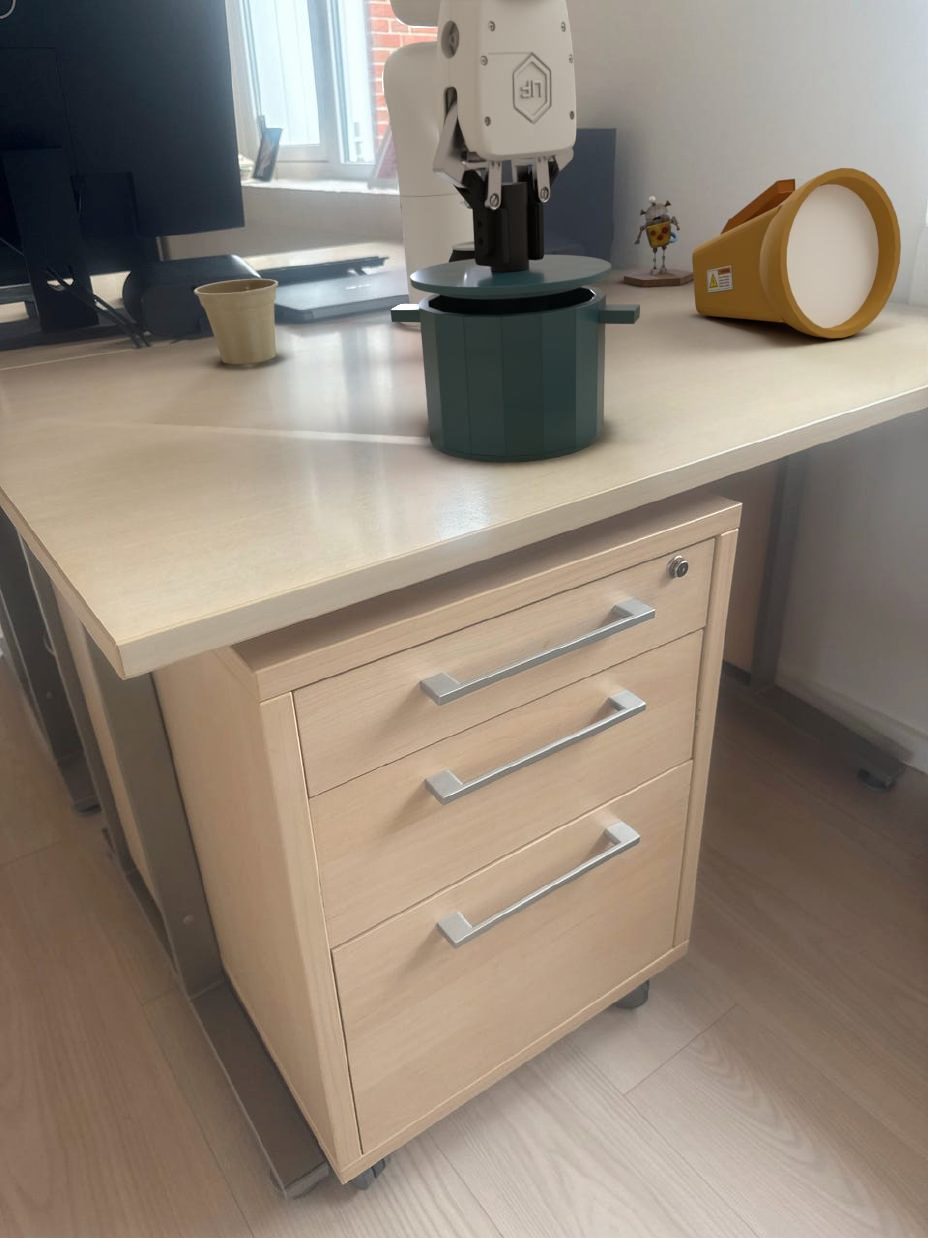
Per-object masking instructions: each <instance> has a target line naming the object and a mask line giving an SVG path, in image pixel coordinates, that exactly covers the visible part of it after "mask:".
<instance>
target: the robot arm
mask: <svg viewBox="0 0 928 1238" xmlns="http://www.w3.org/2000/svg"><path fill="white" fill-rule="evenodd" d="M389 3H390V6H391V9H392V13H393V15H394V16H395V18H396V19H397V21H398V22H400V23H401V24H403V25H404V26H408V27H410V28H411V27H412V28H425V29H426V28H437V33H436V34H437V35H436V40H434V41H433V40H431V41H420V42H419V41H418V42H414V43H409V44H406V45H403V46H400V47H398V48H397V49H395V50H394V51H392V52H391V53H390V54H389V55H388V57H387V58H386V60H385V62H384V65H383V68H382V75H381V78H382V79H381V80H382V81H381V82H382V91H383V98H384V103H385V107H386V111H387V116H388V120H389V125H390V130H391V135H392V140H393V146H394V154H395V160H396V161H395V163H396V170H397V179H398V193H399V203H400V214H401V223H402V224H401V225H402V237H403V248H404V259H405V271H406V272H405V273H406V283H407V293H408V304H419V301H421V300H423V299H425V298H427V297H429V296H431V295H433V294H436V293H429V292H424V291H420V290H418V289H415V288H413V287H412V285H411V281H410V277H411V275H412V274H413V273H414V272H416V271H418V270H421V269H424V268H427V267H430V266H435V265H439V264H444V263H449V259H450V257H451V254H452V251H453V249H452V245H454V244H457V243H462V242H469V241H474V251H475V262H476V264H477V265H479V266H489V267H499V268H500V267H505V266H507V264H508V262H509V252H508V220H507V212H506V209H502V208H499V206H500V202H501V183H502V175H503V174H502V170H503V162H504V161H510V163H511V166H510V167H511V175H512V176H511V177H512V182H527V187H528V233H529V260H541V259H543V258H544V255H545V227H544V226H545V223H544V221H545V218H544V216H545V215H544V210H545V209H544V204H545V203H547V202H549V199H550V198H551V187H552V185H553V184H554V182H555V180H556V179H557V177H558V176H559V175H558V174H559V173H560V172H561V171H562V170H563V169H565V167H566V166H567V165H568V164H570V162H571V161H572V160H573V159H574V153H575V152H574V148H573V147H574V145H575V144H576V138H577V93H576V92H577V91H576V73H575V61H574V60H575V58H574V49H573V39H572V30H571V25H570V24H571V22H570V17H569V12H568V6H567V1H566V0H389ZM529 167H531V169H530V171H529ZM482 171H484V175H483V176H484V177H483V178H482ZM399 323H400V324H403V325H404V326H405V325H406V326H411V327H418V328H421V324H420V322H399Z"/></svg>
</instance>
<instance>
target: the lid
mask: <svg viewBox="0 0 928 1238" xmlns="http://www.w3.org/2000/svg"><path fill="white" fill-rule="evenodd" d="M499 208H502V209H506V212H507V220H508V252H509V262H508V264H507V266H505V267H500V268H499V267H489V266H479V265H477V264H476V262H475V259H469V260H462V261H455V262H449V263H444V264H439V265H435V266H430V267H427V268H424V269H421V270H418V271H416V272H414V273H413V274H412V275H411V277H410V281H411V285H412V287H413V288H415V289H418V290H420V291H424V292H429V293H436V294H441V295H443V296H447V297H453V298H461V299H481V300H493V299H517V298H529V297H538V296H546V295H552V294H558V293H563V292H567V291H571V290H574V289H577V288H579V287H582V286H584V285H586V286H589V285H592V284H595V283H598V282H601V281H603V280H606V279H607V278H609V277H610V276H611V275H612V264H611V263H610V261H607V260H605V259H602V258H597V257H592V256H585V255H584V256H583V255H571V254H544V258H543V259H541V260H529V233H528V187H527V182H513V181H509V182H501V202H500V206H499Z"/></svg>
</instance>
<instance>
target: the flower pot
mask: <svg viewBox="0 0 928 1238" xmlns="http://www.w3.org/2000/svg"><path fill="white" fill-rule="evenodd" d="M278 286H279V281H278V280H275V279H271V278H244V279H243V278H242V279H232V280H224V281H218V282H213V283H208V284H204V285H201V286H198V287H196V288H195V289H194V290H193V293H194V295H196V296H197V297H198V299H199V302H200V305H201V306H202V307H203V308H204V311H205V313H206V316H207V319H208V322H209V326H210V328H211V331H212V334H213V337H214V340H215V342H216V345H217V346H216V347H217V348H218V352H219V355H220V358H221V361H222V362H223V363H224V364H228V365H247V364H256V363H261V362H265V361H269V360H271V359H274V358H275V357H276V356H277V350H276V347H277V345H276V325H275V324H276V321H275V300H276V297H277V287H278Z"/></svg>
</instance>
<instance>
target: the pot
mask: <svg viewBox="0 0 928 1238" xmlns="http://www.w3.org/2000/svg"><path fill="white" fill-rule="evenodd" d="M640 313H641V304H638V303H636V304H633V303H632V304H628V303H627V304H621V303H620V304H619V303H618V304H617V303H616V304H615V303H614V304H613V303H612V304H611V303H610V304H609V303H607V294H606V293H605V292H604V291H603V290H601V289H600V288H599V287H595V286H591V285H584V286H582V287H579V288H577V289H574V290H571V291H567V292H563V293H558V294H552V295H546V296H538V297H529V298H517V299H493V300H481V299H461V298H453V297H447V296H443V295H441V294H433V295H431V296H429V297H427V298H425V299H423V300H421V301H419V304H409V303H401V304H399V305H397V306H395V307H393V308H391V309H390V320H391V323H400V322H420V324H421V327H420V334H421V335H420V336H421V347H422V360H423V373H424V385H425V395H426V410H427V421H428V422H427V423H428V433H429V434H428V435H429V440H430V443H431V445H432V446H433V447H434V448H435V449H436V450H438V451H439V452H441V453H443V454H447V455H448V456H452V457H455V458H459V459H465V460H469V461H476V462H489V463H520V462H521V463H522V462H533V461H540V460H547V459H553V458H558V457H563V456H565V455H570V454H573V453H575V452H578V451H579V452H580V451H581V450H584V449H586V448H588V447H590V446H591V445H593V444H594V443H596V442H598V440H599V439H600V437H601V435H602V433H603V431H602V429H603V426H604V424H605V423H604V422H605V418H604V417H605V415H604V414H605V377H606V376H605V373H606V371H605V370H606V369H605V368H606V367H605V366H606V325H635V323H636V322H637V321H638V320H639V318H640Z"/></svg>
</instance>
